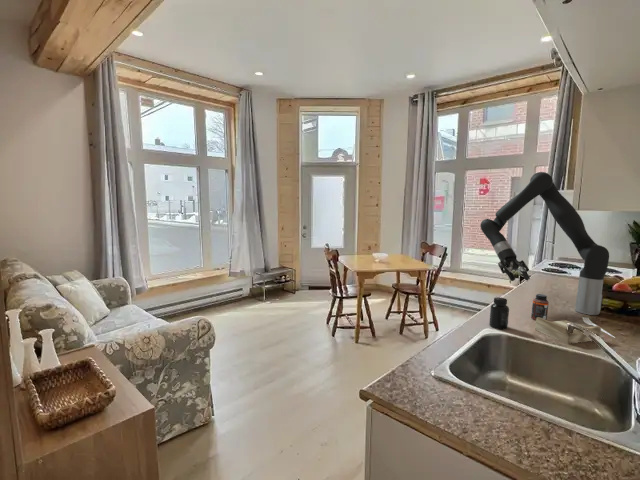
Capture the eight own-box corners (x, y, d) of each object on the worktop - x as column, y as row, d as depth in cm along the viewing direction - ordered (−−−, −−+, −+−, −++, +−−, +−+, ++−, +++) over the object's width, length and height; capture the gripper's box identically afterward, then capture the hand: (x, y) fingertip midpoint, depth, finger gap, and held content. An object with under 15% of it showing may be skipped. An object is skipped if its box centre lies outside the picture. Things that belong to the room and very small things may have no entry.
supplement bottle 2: (548, 322, 153) (552, 297, 152) (534, 321, 154) (536, 296, 153) (543, 318, 159) (546, 293, 158) (528, 316, 160) (531, 292, 159)
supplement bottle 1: (505, 325, 148) (508, 297, 146) (508, 330, 141) (511, 302, 140) (487, 322, 150) (490, 295, 149) (490, 328, 144) (492, 299, 142)
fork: (610, 339, 139) (611, 334, 138) (580, 320, 158) (580, 316, 158) (619, 340, 138) (620, 335, 138) (588, 321, 158) (588, 317, 158)
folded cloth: (564, 327, 148) (566, 314, 147) (599, 340, 135) (601, 327, 134) (535, 329, 144) (536, 317, 143) (567, 343, 130) (569, 330, 130)
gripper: (497, 247, 171) (514, 276, 161) (521, 247, 175) (538, 275, 165) (488, 256, 176) (503, 284, 167) (511, 256, 180) (527, 283, 171)
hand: (520, 280), depth 166 cm, fingers open, 8 cm apart
